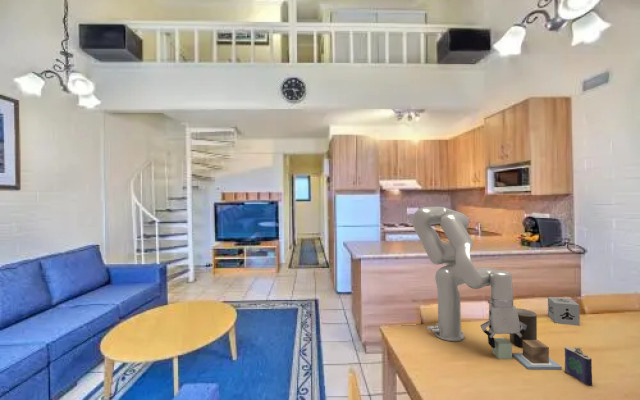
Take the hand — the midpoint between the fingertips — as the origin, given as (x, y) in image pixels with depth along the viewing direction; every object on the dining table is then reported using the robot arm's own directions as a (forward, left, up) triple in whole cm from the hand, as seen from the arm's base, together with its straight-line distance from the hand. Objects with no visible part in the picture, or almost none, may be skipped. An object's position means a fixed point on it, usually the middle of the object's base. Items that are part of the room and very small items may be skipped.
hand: (504, 346), depth 125 cm
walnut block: (+9, -4, -3) cm, 11 cm away
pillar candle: (+13, +11, -4) cm, 18 cm away
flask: (+17, -15, -4) cm, 23 cm away
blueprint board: (+9, -4, -4) cm, 11 cm away
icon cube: (+47, +36, -4) cm, 60 cm away
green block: (-1, +1, -4) cm, 4 cm away
